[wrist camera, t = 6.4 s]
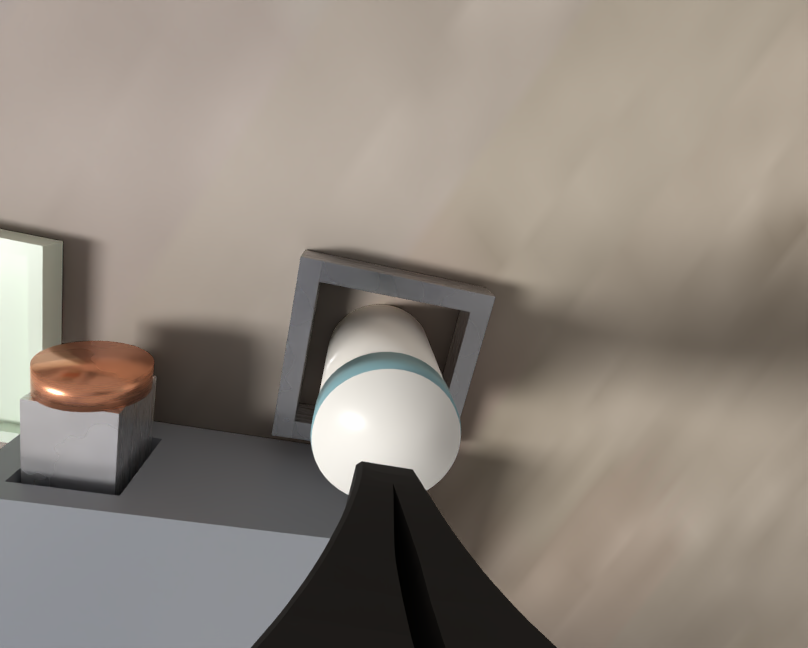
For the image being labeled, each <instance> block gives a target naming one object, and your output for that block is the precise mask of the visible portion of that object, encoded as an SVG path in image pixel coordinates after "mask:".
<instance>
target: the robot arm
mask: <svg viewBox="0 0 808 648" xmlns="http://www.w3.org/2000/svg"><path fill="white" fill-rule="evenodd" d="M251 648H557V647H556V646H555V645H553V644H552V643H551V642H550V641H549V640H548V639H547V638H546V637H545V636H544V635H543V634H542V633H541V632H540V631H539V630H538V629H537V628H535V627H534V626H533V625H532V624H531V623H530V622H529V621H528V620H527V619H526V618H525V617H524V616H523V615H522V614H521V613H520V612H519V611H518V610H517V609H516V608H515V607H514V606H513V604H512V603H511V602H510V601H509V600H508V599H507V598H506V597H505V596H504V595H503V593H502V592H501V591H500V590H499V589H498V588H497V587H496V586H495V585H494V584H493V582H492V581H491V580H490V579H489V578H488V577H487V575H486V574H485V573H484V572H483V571H482V569H481V568H480V567H479V566H478V564H477V563H476V562H475V560H474V559H473V558H472V557H471V555H470V554H469V553H468V551H467V550H466V549H465V548H464V546H463V545H462V544H461V542H460V541H459V539H458V538H457V537H456V535H455V534H454V532H453V531H452V529H451V528H450V527H449V525H448V524H447V522H446V521H445V519H444V518H443V516H442V515H441V513H440V512H439V510H438V509H437V507H436V505H435V504H434V502H433V501H432V499H431V498H430V496H429V494H428V493H427V491H426V489H425V488H424V486H423V485H422V483H421V481H420V480H419V478H418V477H417V475H416V474H415V472H414V470H413V469H407V468H401V467H395V466H389V465H382V464H376V463H370V462H364V461H361V462H360V463H358V464H356V467H355V471H354V475H353V479H352V483H351V487H350V491H349V495H348V499H347V503H346V507H345V510H344V512H343V514H342V517H341V519H340V521H339V523H338V525H337V527H336V529H335V530H334V532H333V534H332V536H331V538H330V540H329V542H328V544H327V545H326V547H325V549H324V551H323V552H322V554H321V556H320V557H319V559H318V560H317V562H316V564H315V565H314V567H313V568H312V570H311V571H310V573H309V574H308V576H307V577H306V579H305V580H304V582H303V583H302V584H301V586H300V587H299V589H298V590H297V591H296V593H295V594H294V595H293V597H292V598H291V600H290V601H289V602H288V604H287V605H286V606H285V607H284V609H283V610H282V611H281V613H280V614H279V615H278V616H277V618H276V619H275V620H274V621H273V622H272V624H271V625H270V626H269V627H268V628H267V629H266V631H265V632H264V633H263V634H262V635H261V636H260V637H259V639H258V640H257V641H256V642H255V643H254V644H253V646H252V647H251Z"/></svg>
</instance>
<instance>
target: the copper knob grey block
mask: <svg viewBox="0 0 808 648" xmlns="http://www.w3.org/2000/svg"><path fill="white" fill-rule="evenodd" d="M153 370H154V359H153V357H152V356H151V355H150V354H149V353H148V352H147V351H145V350H143V349H141V348H139V347H136V346H133V345H129V344H124V343H118V342H110V341H80V342H71V343H65V344H60V345H56V346H53V347H50V348H47V349H45V350H42V351H40V352H39V353H37V354H36V355H35V356H34V357H33V358H32V359H31V362H30V392H29V393H28V394H26V395H25V396H23V397H22V398H20V454H21V484H29V485H37V486H45V487H53V488H61V489H69V490H77V491H85V492H93V493H101V494H109V495H117V496H120V495H121V493H122V492H123V491H124V489H125V488H126V487H127V485H128V484H129V483H130V481H131V480H132V479H133V477H134V476H135V475H136V473H137V472H138V471H139V469H140V468H141V467H142V465H143V464H144V463H145V461H146V460H147V459H148V457H149V456H150V455H151V442H152V429H153V417H154V404H155V392H156V379H157V376H153Z"/></svg>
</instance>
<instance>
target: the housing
mask: <svg viewBox="0 0 808 648" xmlns="http://www.w3.org/2000/svg"><path fill="white" fill-rule="evenodd" d="M347 499H348V494H346V493H344V492H342V491H341V490H339V489H338V488H336V487H335V486H334V485H333V484H331V483H330V482H329V481H328V480H327V479H326V477H325V476H324V475H323V473H322V472H321V471H320V469H319V467H318V465H317V463H316V461H315V458H314V455H313V451H312V447H311V445H310V444H304V443H297V442H290V441H283V440H277V439H270V438H263V437H256V436H250V435H243V434H236V433H229V432H223V431H216V430H209V429H202V428H196V427H189V426H182V425H175V424H169V423H162V422H155V421H153V429H152V442H151V455H150V456H149V457H148V459H147V460H146V461H145V463H144V464H143V465H142V467H141V468H140V469H139V471H138V472H137V473H136V475H135V476H134V477H133V479H132V480H131V481H130V483H129V484H128V485H127V487H126V488H125V489H124V491H123V492H122V493H121V495H120V496H117V495H109V494H101V493H93V492H85V491H77V490H69V489H61V488H53V487H45V486H37V485H29V484H21V454H20V434H19V435H18V436H17V437H15V438H14V439H13V440H11V441H10V442H9V443H7V444H6V445H5V446H4V447H2V448H1V449H0V648H251V647H252V646H253V644H254V643H255V642H256V641H257V640H258V639H259V637H260V636H261V635H262V634H263V633H264V632H265V631H266V629H267V628H268V627H269V626H270V625H271V624H272V622H273V621H274V620H275V619H276V618H277V616H278V615H279V614H280V613H281V611H282V610H283V609H284V607H285V606H286V605H287V604H288V602H289V601H290V600H291V598H292V597H293V595H294V594H295V593H296V591H297V590H298V589H299V587H300V586H301V584H302V583H303V582H304V580H305V579H306V577H307V576H308V574H309V573H310V571H311V570H312V568H313V567H314V565H315V564H316V562H317V560H318V559H319V557H320V556H321V554H322V552H323V551H324V549H325V547H326V545H327V544H328V542H329V540H330V538H331V536H332V534H333V532H334V530H335V529H336V527H337V525H338V523H339V521H340V519H341V517H342V514H343V512H344V510H345V507H346V503H347Z"/></svg>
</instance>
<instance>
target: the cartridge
mask: <svg viewBox="0 0 808 648" xmlns="http://www.w3.org/2000/svg"><path fill="white" fill-rule="evenodd" d="M310 436H311V447H312V451H313V455H314V458H315V461H316V463H317V465H318V467H319V469H320V471H321V472H322V473H323V475H324V476H325V477H326V479H327V480H328V481H329V482H330V483H331V484H333V485H334V486H335V487H336V488H338V489H339V490H341V491H342V492H344V493H346V494H348V495H349V491H350V487H351V483H352V479H353V475H354V471H355V467H356V464H358V463H360V462H361V461H364V462H370V463H376V464H382V465H389V466H395V467H401V468H407V469H413V470H414V472H415V474H416V475H417V477H418V478H419V480H420V481H421V483H422V485H423V486H424V488H425V489H426V491H427V490H428V489H430V488H431V487H433V486H434V485H435V484H436V483H438V482H439V481H440V480H441V479H442V478H443V477H444V476H445V475H446V473H447V472H448V471H449V469H450V468H451V466H452V465H453V463H454V461H455V459H456V456H457V454H458V451H459V446H460V440H461V422H460V418H459V413H458V411H457V408H456V406H455V403H454V401H453V398H452V396H451V393H450V391H449V388H448V386H447V385H446V383H445V381H444V380H443V377H442V374H441V372H440V369H439V367H438V364H437V362H436V359H435V356H434V354H433V351H432V349H431V346H430V344H429V341H428V339H427V336H426V333H425V331H424V329H423V328H422V326H421V325H420V323H419V322H418V321H417V320H416V319H415V318H414V317H413V316H412V315H410V314H409V313H408V312H406V311H404V310H402V309H400V308H397V307H394V306H390V305H383V304H376V305H369V306H365V307H361V308H359V309H356V310H355V311H353V312H351V313H350V314H348V315H347V316H345V317H344V318H343V319H342V320H341V321H340V322H339V324H338V325H337V326H336V328H335V329H334V331H333V333H332V335H331V338H330V342H329V346H328V351H327V356H326V361H325V367H324V372H323V377H322V382H321V387H320V392H319V395H318V397H317V401H316V405H315V410H314V415H313V420H312V425H311V433H310Z"/></svg>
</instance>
